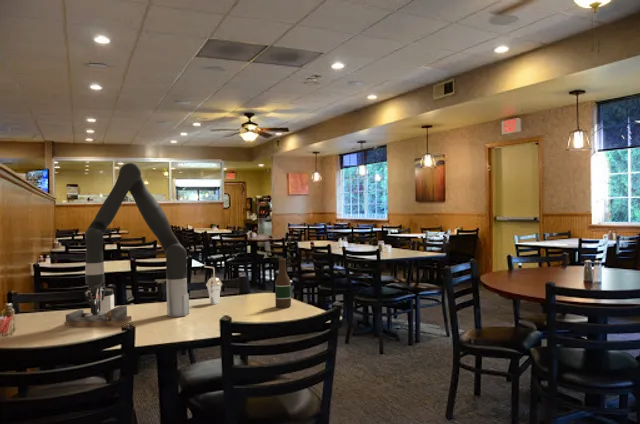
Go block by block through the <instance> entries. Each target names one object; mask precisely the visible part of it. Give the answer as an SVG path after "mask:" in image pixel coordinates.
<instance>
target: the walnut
mask: <svg viewBox="0 0 640 424" xmlns="http://www.w3.org/2000/svg"><path fill="white" fill-rule="evenodd" d="M107 318H109V319H111V310H110V311H108V312H107Z"/></svg>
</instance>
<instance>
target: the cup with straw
mask: <svg viewBox="0 0 640 424" xmlns="http://www.w3.org/2000/svg"><path fill="white" fill-rule="evenodd" d="M203 268H209V269H212V271H213V275H212V276H213V277H210V278H209V279H208V281H207V283H206V284H205V286H206V287H207V291H208V297H209V303H210V305H219V304H220V299H221V298H220V295H221V288H222V286H223V285H224V284H223V283H222V281H221V280H220V278H219V277H216V273H215V272H216V270H215V267H214V266H208V265H203Z"/></svg>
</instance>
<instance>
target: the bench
mask: <svg viewBox="0 0 640 424" xmlns="http://www.w3.org/2000/svg"><path fill="white" fill-rule="evenodd" d="M90 313H91V312H85V311H84V309H78V310H76V311H75V310H74V311H73V312H69V313H67V314H65V322H64V323H63V324H64V327H65V328H119V327H121V326H123V325H126V324H128V323H129V322H132V316H131V315H128V306H127V305H120V306H119V305H118V306H117V307H114V309H111V319H109V318H107V317H85V315H88V314H90Z"/></svg>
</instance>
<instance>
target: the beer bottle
mask: <svg viewBox="0 0 640 424" xmlns="http://www.w3.org/2000/svg"><path fill="white" fill-rule="evenodd" d="M291 284H292V283H291V279H290V277H289V275H288V272H287V259H286V258H285V257H283V258H278V273H277V277H276V279H275V283H274V286H275V287H274V288H275V289H274V290H275V292H274V295H275V297H274V298H275V301H274V302H275V307H276V308H277V307H278V309H287V308H290V307H291V306H292V290H291V289H292V287H291Z"/></svg>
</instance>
